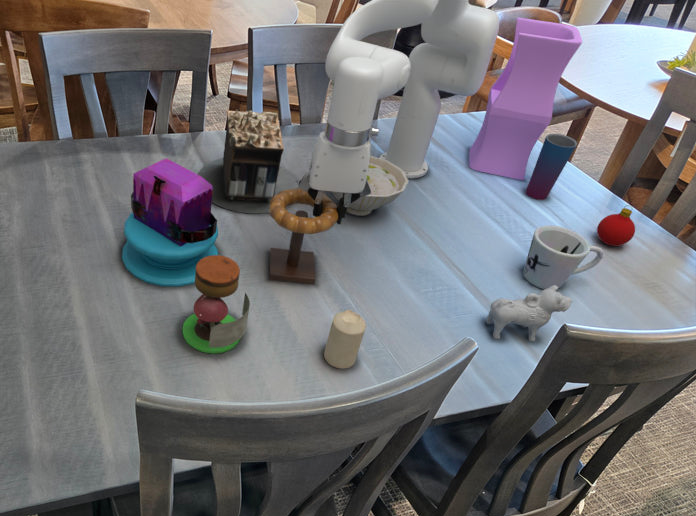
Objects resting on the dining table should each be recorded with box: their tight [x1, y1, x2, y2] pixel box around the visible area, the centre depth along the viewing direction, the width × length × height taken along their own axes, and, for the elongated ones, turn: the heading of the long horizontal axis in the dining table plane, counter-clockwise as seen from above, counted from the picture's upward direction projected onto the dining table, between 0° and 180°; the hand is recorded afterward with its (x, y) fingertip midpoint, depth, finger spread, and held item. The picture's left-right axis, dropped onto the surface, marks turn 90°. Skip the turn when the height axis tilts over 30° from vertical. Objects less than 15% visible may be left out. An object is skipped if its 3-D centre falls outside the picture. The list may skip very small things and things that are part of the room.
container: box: [468, 17, 583, 181], centre depth 158 cm, size 14×14×35 cm
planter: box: [196, 109, 299, 214], centre depth 148 cm, size 25×25×19 cm
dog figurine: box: [485, 285, 573, 342], centre depth 115 cm, size 5×13×11 cm, turn 89°
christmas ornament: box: [596, 204, 636, 247], centre depth 140 cm, size 7×7×10 cm
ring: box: [268, 187, 338, 235], centre depth 120 cm, size 13×13×3 cm
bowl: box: [332, 155, 410, 216], centre depth 146 cm, size 19×19×10 cm
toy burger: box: [182, 254, 251, 354], centre depth 109 cm, size 12×13×15 cm
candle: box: [323, 309, 367, 370], centre depth 108 cm, size 6×6×10 cm
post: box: [269, 209, 317, 285], centre depth 125 cm, size 9×9×14 cm
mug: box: [522, 225, 604, 290], centre depth 128 cm, size 10×15×10 cm
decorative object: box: [121, 157, 219, 287], centre depth 124 cm, size 20×20×20 cm
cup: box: [525, 133, 578, 201], centre depth 153 cm, size 7×7×15 cm
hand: (327, 218), depth 121 cm, fingers closed on ring, 3 cm apart
